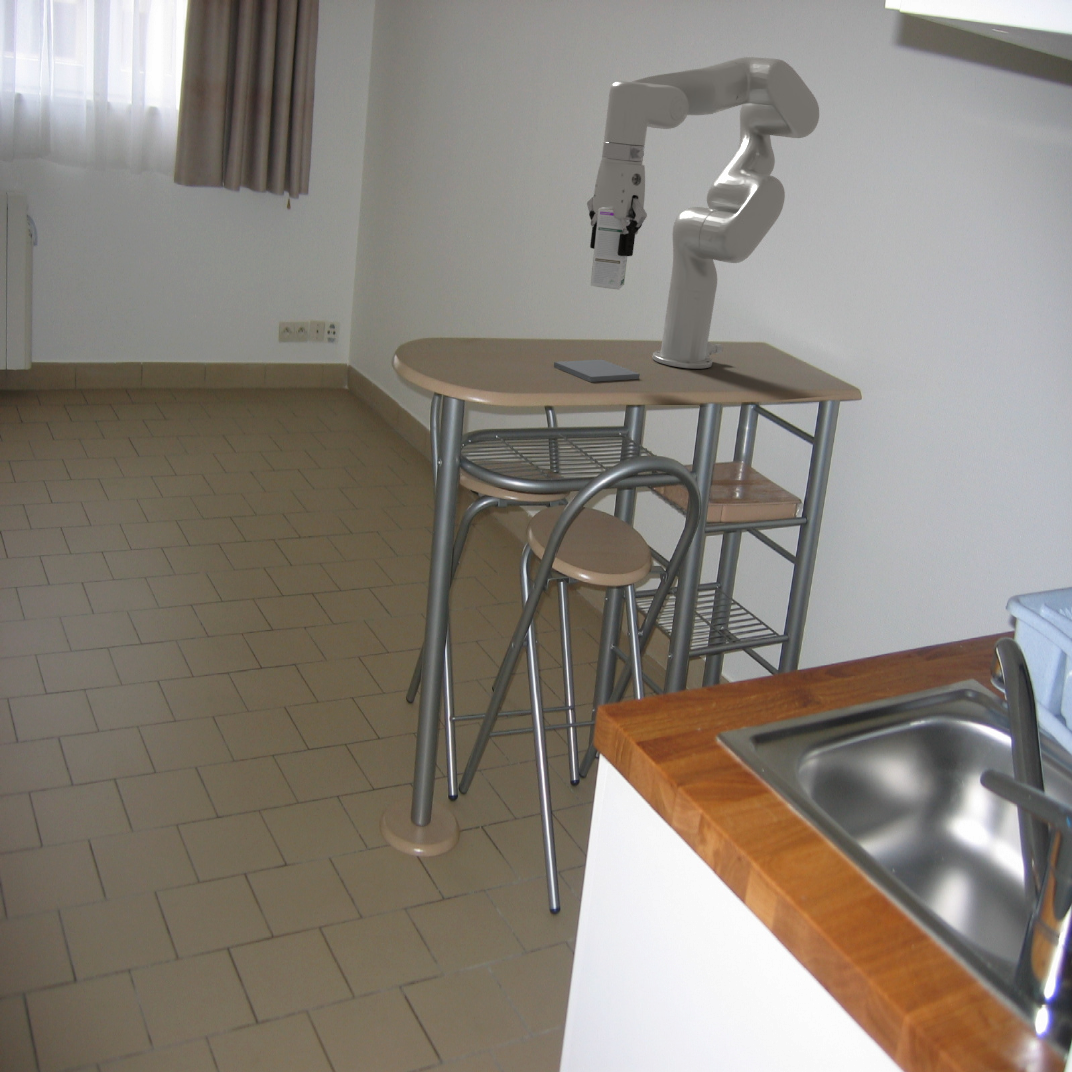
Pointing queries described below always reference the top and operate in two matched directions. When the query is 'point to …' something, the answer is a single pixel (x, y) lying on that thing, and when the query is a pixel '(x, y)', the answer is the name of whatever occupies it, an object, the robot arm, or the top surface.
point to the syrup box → (608, 252)
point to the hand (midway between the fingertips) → (611, 251)
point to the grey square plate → (596, 370)
